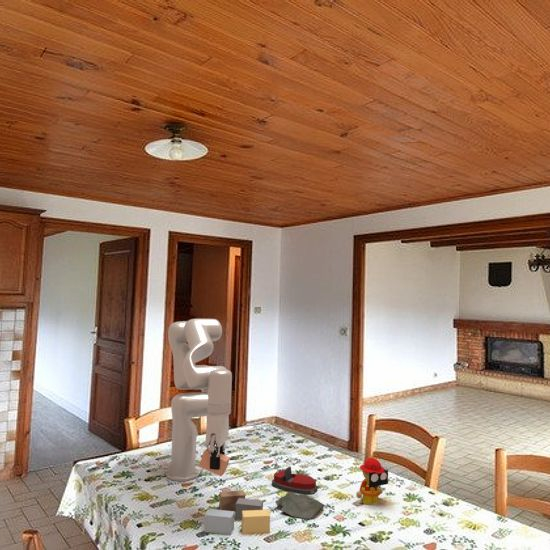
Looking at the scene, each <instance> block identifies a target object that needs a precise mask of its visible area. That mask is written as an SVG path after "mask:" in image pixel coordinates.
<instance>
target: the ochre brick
mask: <svg viewBox="0 0 550 550" xmlns="http://www.w3.org/2000/svg"><path fill="white" fill-rule="evenodd" d="M270 527H271V515H270V511H269V509H263V510H248V511H242V520H241V530H242V531H241V532H243V533H242V535H250V534H267V533H269V534H270V533H271V531H270Z"/></svg>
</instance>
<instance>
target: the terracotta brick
mask: <svg viewBox="0 0 550 550" xmlns="http://www.w3.org/2000/svg"><path fill="white" fill-rule="evenodd" d="M219 456H220V469H219V470H213V469H210V452H209V447H207V448H206V449H205V450H204V451H203V452H202V455H201V458H200V462H199V464H198V467H199V468H201V469H204V470H206V471H208V472H210V473H212V474H214V475H217V476H219V477H223V476H224V474H225V473H226V471H227V469H228V466H229V465H228V464H229V462H230V460H231V457H230V456H227V455H226V454H225V455H223V454H221V453H219Z"/></svg>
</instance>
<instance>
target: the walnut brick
mask: <svg viewBox="0 0 550 550" xmlns="http://www.w3.org/2000/svg"><path fill="white" fill-rule="evenodd" d="M239 498H242V499H246V493H245V491H244V489H241V490H229V491H228V490H227V491H226V490H225V491H219V503H218V507H219V510H225V511H234V512H236V502H237V501H238V499H239Z"/></svg>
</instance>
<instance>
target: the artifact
mask: <svg viewBox="0 0 550 550" xmlns="http://www.w3.org/2000/svg"><path fill="white" fill-rule="evenodd" d="M275 505H276V506H278V507H281V508H280V511H281V512H285V514H287V515H289V516H291V517H295V518H300V519H303V520H311V519H313V518H314V517H316V516H317V515H318V514H320V513H322V510H323V509H324V507H325V503H322V502H321V501H320V500H317V499H314V498H313V497H311V496H310V495H305V494H297V493H293V492H288V491H287V493H285V495H284V496H280V497H279V498H278V499H277V500H275Z"/></svg>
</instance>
